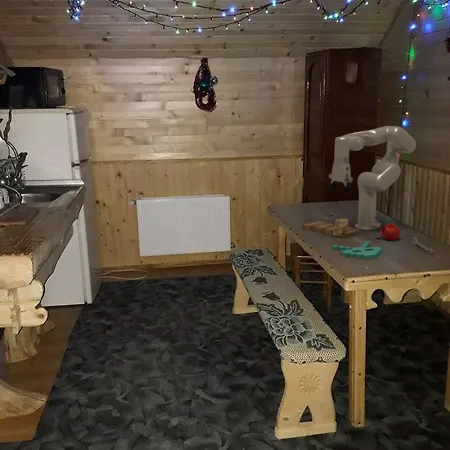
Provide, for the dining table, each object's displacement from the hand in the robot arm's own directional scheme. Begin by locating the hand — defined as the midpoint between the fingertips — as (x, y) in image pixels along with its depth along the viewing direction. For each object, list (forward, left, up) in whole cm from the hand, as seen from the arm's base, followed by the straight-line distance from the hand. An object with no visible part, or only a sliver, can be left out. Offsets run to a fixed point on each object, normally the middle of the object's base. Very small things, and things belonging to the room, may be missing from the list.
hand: (339, 192), depth 283 cm
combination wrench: (-47, -5, -24) cm, 52 cm away
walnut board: (+6, -1, -23) cm, 24 cm away
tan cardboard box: (-4, +3, -23) cm, 24 cm away
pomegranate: (-26, -10, -23) cm, 36 cm away
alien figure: (-29, +21, -24) cm, 43 cm away
